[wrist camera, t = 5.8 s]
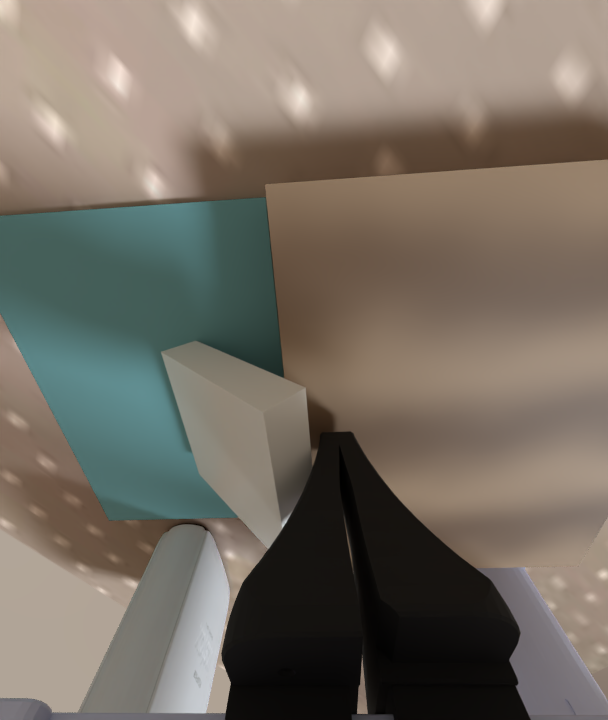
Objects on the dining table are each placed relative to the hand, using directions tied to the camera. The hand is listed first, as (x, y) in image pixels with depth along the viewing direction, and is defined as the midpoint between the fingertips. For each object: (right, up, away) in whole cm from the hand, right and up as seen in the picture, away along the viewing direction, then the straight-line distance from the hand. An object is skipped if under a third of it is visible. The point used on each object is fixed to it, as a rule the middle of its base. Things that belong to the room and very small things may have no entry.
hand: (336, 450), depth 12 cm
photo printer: (-10, -13, +12) cm, 20 cm away
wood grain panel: (+6, +2, +4) cm, 8 cm away
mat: (-9, +2, +5) cm, 11 cm away
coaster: (-4, 0, +2) cm, 4 cm away
